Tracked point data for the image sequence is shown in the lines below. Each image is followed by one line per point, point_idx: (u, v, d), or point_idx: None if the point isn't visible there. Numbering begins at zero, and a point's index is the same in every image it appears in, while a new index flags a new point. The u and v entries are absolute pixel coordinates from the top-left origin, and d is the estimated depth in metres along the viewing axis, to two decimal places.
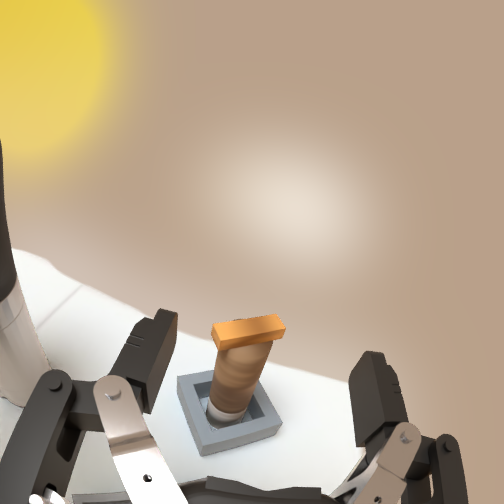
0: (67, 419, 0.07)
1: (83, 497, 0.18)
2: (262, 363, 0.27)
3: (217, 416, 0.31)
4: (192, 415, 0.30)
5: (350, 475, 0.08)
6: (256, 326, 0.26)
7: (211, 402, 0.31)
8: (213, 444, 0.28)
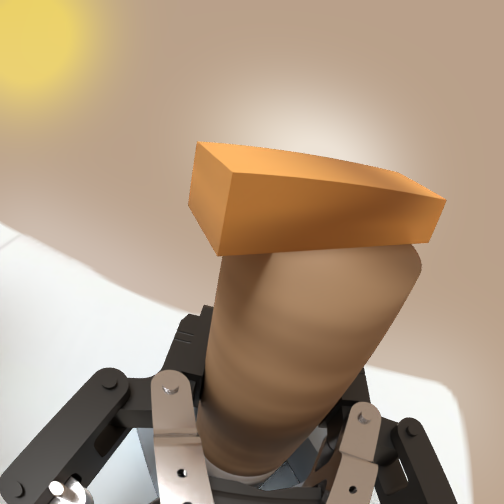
0: (113, 417, 0.08)
1: None
2: (387, 329, 0.07)
3: (217, 477, 0.11)
4: (154, 477, 0.10)
5: (316, 463, 0.08)
6: (369, 175, 0.06)
7: None
8: None
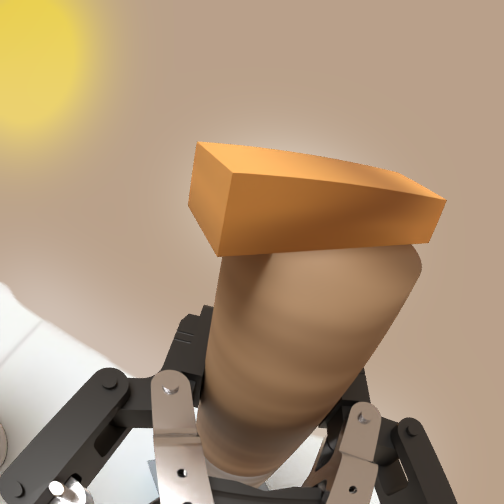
0: (113, 417, 0.08)
1: None
2: (387, 330, 0.07)
3: (217, 477, 0.11)
4: None
5: (316, 463, 0.08)
6: (369, 175, 0.06)
7: None
8: None
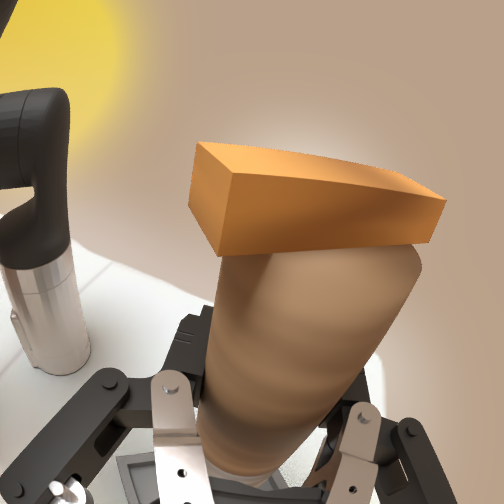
0: (113, 417, 0.08)
1: (128, 458, 0.23)
2: (387, 330, 0.07)
3: (217, 477, 0.11)
4: None
5: (316, 463, 0.08)
6: (370, 175, 0.06)
7: None
8: None
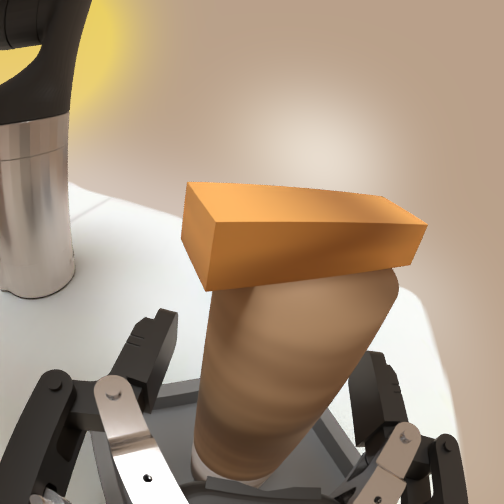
0: (67, 419, 0.07)
1: None
2: (366, 349, 0.07)
3: None
4: None
5: (350, 475, 0.08)
6: (349, 206, 0.07)
7: (198, 454, 0.12)
8: None
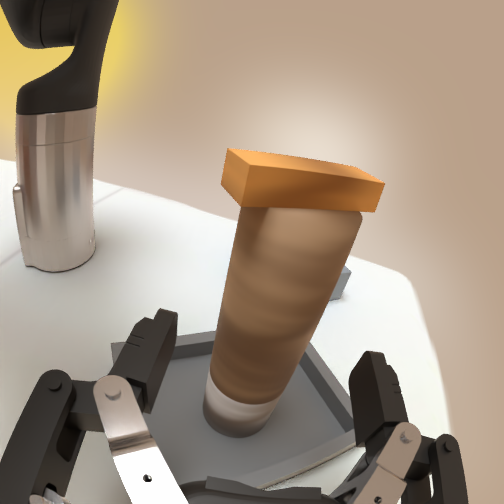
0: (67, 419, 0.07)
1: None
2: (342, 262, 0.11)
3: (225, 410, 0.16)
4: None
5: (350, 475, 0.08)
6: (327, 168, 0.11)
7: (213, 381, 0.16)
8: None
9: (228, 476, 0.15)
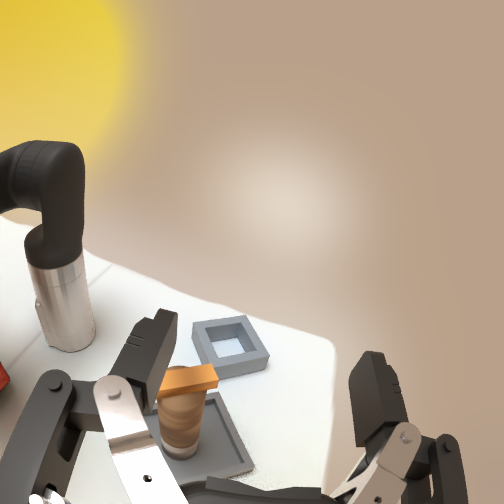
0: (67, 419, 0.07)
1: None
2: (197, 411, 0.25)
3: (168, 448, 0.29)
4: (204, 348, 0.46)
5: (350, 475, 0.08)
6: (187, 377, 0.25)
7: (161, 436, 0.29)
8: (219, 367, 0.43)
9: None
